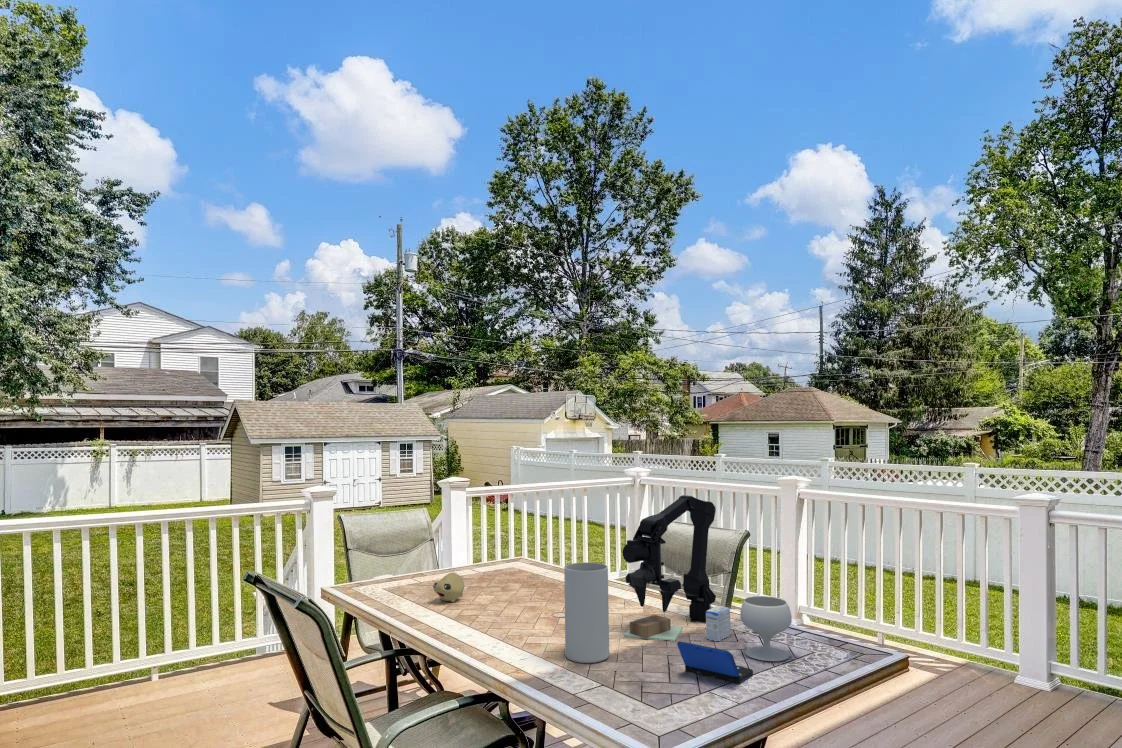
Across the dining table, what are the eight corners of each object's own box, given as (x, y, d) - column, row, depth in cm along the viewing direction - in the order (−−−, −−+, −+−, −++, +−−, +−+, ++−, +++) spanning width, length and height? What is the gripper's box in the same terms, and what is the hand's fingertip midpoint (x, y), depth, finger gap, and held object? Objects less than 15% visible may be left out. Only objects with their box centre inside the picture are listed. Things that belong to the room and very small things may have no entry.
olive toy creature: (428, 603, 250) (428, 574, 251) (448, 596, 260) (449, 569, 261) (448, 607, 245) (448, 577, 246) (469, 599, 255) (469, 571, 256)
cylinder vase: (607, 665, 182) (605, 571, 184) (562, 663, 184) (560, 570, 186) (611, 650, 194) (609, 562, 196) (569, 648, 196) (567, 562, 199)
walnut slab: (670, 618, 212) (645, 626, 204) (670, 630, 211) (645, 638, 203) (654, 614, 216) (629, 622, 209) (654, 625, 216) (629, 633, 208)
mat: (683, 628, 215) (683, 626, 215) (674, 641, 202) (674, 639, 202) (634, 624, 220) (634, 622, 220) (623, 636, 207) (623, 634, 207)
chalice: (741, 661, 184) (739, 605, 185) (741, 645, 197) (739, 593, 198) (795, 665, 180) (792, 608, 181) (791, 649, 193) (789, 596, 195)
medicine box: (717, 633, 209) (716, 605, 210) (731, 636, 206) (730, 607, 207) (706, 639, 203) (705, 610, 204) (719, 642, 200) (718, 613, 201)
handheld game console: (755, 675, 174) (753, 638, 175) (732, 691, 164) (731, 652, 165) (700, 662, 184) (699, 628, 185) (676, 676, 174) (675, 640, 174)
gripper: (613, 558, 214) (614, 608, 213) (658, 566, 201) (659, 620, 199) (636, 554, 222) (637, 602, 220) (681, 561, 208) (682, 613, 207)
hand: (653, 609), depth 211 cm, fingers open, 9 cm apart
